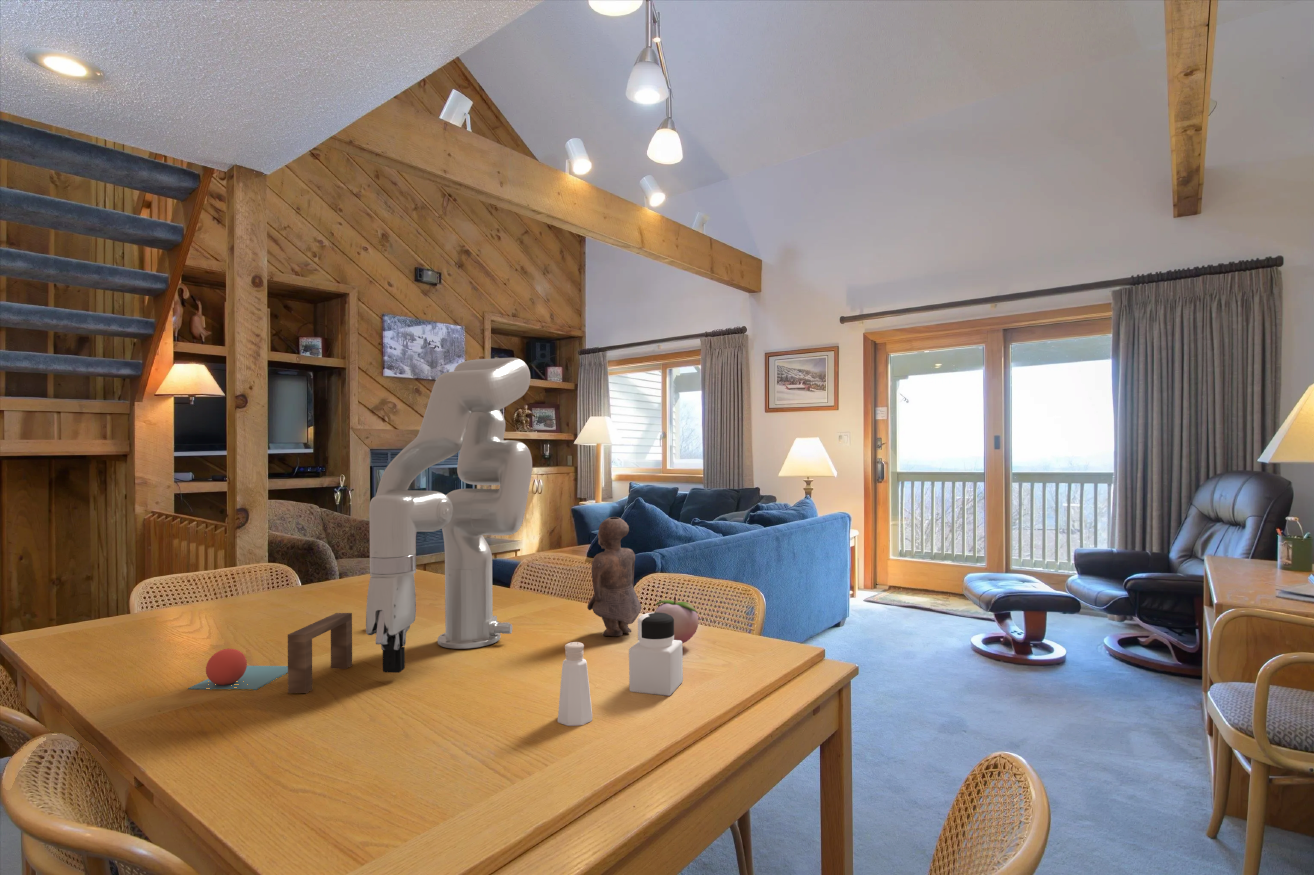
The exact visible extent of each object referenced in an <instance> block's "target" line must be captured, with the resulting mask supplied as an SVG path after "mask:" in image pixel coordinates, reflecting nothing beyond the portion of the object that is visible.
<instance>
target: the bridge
mask: <svg viewBox="0 0 1314 875" xmlns="http://www.w3.org/2000/svg"><path fill="white" fill-rule="evenodd" d="M329 631H330V669H331V668H332V670H333V669H335V670H336V669H338V668H339V669H341V670H342V669H343V670H345V669H346V670H347V669H348V667H349V668H350V667H352V666H353V613H352V612H335V613H334V614H331V615H329V616H326V617H325V618H322V619H320V620H317V621H314V622H313V623H311V624H308V625H306V626H303V627H302V628H299V629H297V630H295V631H293V632H291V633H288V634H287V666H288V673H287V694H288V693H306V694H308V693H309V691H310V690H311V691H313V639H315V638H317V637H319V636H321V635H323V634H325V633H327V632H329ZM311 691H310V692H311Z"/></svg>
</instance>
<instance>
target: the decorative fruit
mask: <svg viewBox="0 0 1314 875" xmlns="http://www.w3.org/2000/svg"><path fill="white" fill-rule="evenodd" d="M676 597H677V596H674V597H673V600H671V599H662V600H659V601H658V602H656V603H655V606H657V608H656V609H655V611H654V612H660V613H666V614H669V615H671V616H672V617H673V618H674V640H681V641H682V645H683V644H684V643H687V642H688V641H689V640H690V639H691V638H692V637H693V636H694V635H695V634H696V633H697V630H698V628H699V627H698V626H699V616H698V613H697V610H696V608H695V607H694V606H693V605H692V604H691V603H688V602H687V601H686V602H685V601H679V602H676V601H677V600H676ZM658 605H659V606H658Z"/></svg>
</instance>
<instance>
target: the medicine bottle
mask: <svg viewBox="0 0 1314 875" xmlns="http://www.w3.org/2000/svg"><path fill="white" fill-rule="evenodd" d="M637 640H638V641H637V642H636V643H635V644H633V645H632V646H631V647H629V649H628V670H629V671H628V673H629V674H628V675H629V676H628V677H629V678H628V679H629V680H628V682H629V683H628V684H629V685H628V686H629V687H628V688H629V692H632V693H638V694H639V693H640V694H649V695H656V696H657V695H658V696H668V697H670V696H671V695H673V693H675V691H676V690H677V689H678V687H680V685H681V684H682V683H683V681H684V676H683V674H684V672H683V668H684V665H683V662H684V661H683V660H684V659H683V644H682V641H681V640H674V618H673V617H672V616H671V615H669V614H666V613H660V612H655V611H654V612H647V613H643V614H641V615H640V616H638V617H637Z"/></svg>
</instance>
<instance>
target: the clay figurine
mask: <svg viewBox="0 0 1314 875" xmlns="http://www.w3.org/2000/svg"><path fill="white" fill-rule="evenodd" d="M629 527H630V526H629V525H628V523H627V522H626V521H625V520H624V519H623V518H621V517H619V516H618V517H617V516H612V517H611V516H610V517H608V518H606V519H604V520H602V522H601V523H600V525H599V527H598V532H597V538H598V543H597V544H598V545H599V546H600V547H601V549H604V551H601V552H599V553H596V555H595V556H593V559H592V562H591V579H592V587H593V593H594V594H593V596H592V597H591V599H590V600H589V602H588V603H587V610H588V611H591V610H592V612H593V613H594V614H595V615H596V616H597V617H600V618H601V620H602V622H603V623H604V626H605V630H604V631H603V632H602V636H604V637H605V636H608V637H609V636H611V637H621V636H622V635H624V634H629V633H631V632H632V629H631V628H630V627H629V625H631V624H633V623H635V621H636V619H638V618H639V615H640V613H641V610H642V605H641V602H640V600H639V598H638V595H637V593H636V590H635V588H634V578H635V561H636V553H635V552H634V551H633V549H631V548H629V547H621V540H622V539H623V538H624V537H626V536H627V535H628V534H629V532H630V528H629ZM623 633H624V634H623Z"/></svg>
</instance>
